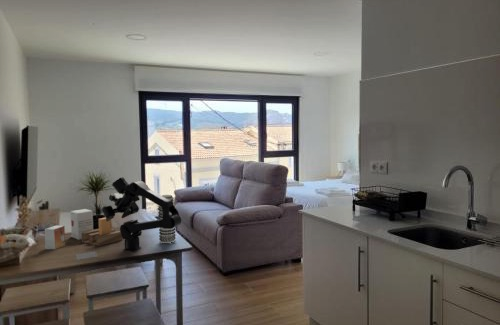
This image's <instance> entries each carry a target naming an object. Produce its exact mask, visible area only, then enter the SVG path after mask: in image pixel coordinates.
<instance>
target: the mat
mask: <svg viewBox="0 0 500 325" xmlns="http://www.w3.org/2000/svg"><path fill="white" fill-rule="evenodd" d="M98 256H99V255H98V254H97V252H96V251H89V252H83V253H75V260H76V261H78V260H86V259H91V258H98Z"/></svg>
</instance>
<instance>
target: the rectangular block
mask: <svg viewBox="0 0 500 325" xmlns="http://www.w3.org/2000/svg"><path fill="white" fill-rule="evenodd" d="M97 219H98V229H99V235H103V234H107V233H111V232H112V229H113V228H112V227H113V226H112V219H111V220H110V221H108V222H107V221H106V217H105V216H104V217H102V218H97Z"/></svg>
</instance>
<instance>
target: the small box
mask: <svg viewBox="0 0 500 325" xmlns="http://www.w3.org/2000/svg"><path fill="white" fill-rule="evenodd" d="M65 230H66V229H65V225H58V224H57V225H56V224H55V225H53V226H50V227H47V228H45V229H44V244H45V250H56V249H59V248H62V247H65V246H66V231H65Z"/></svg>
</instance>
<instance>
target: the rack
mask: <svg viewBox="0 0 500 325" xmlns="http://www.w3.org/2000/svg"><path fill="white" fill-rule="evenodd" d="M122 240H123V238H122V235H121V232H120V230H116V229H114V228H112V232H111V233H107V234H103V235H99V228H96V229H93V230H91V231H87V232H82V239H81V242H82V243H85V244H88V245H93V246H97V247H100V246H105V245H108V244H112V243H116V242H119V241H122Z"/></svg>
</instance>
